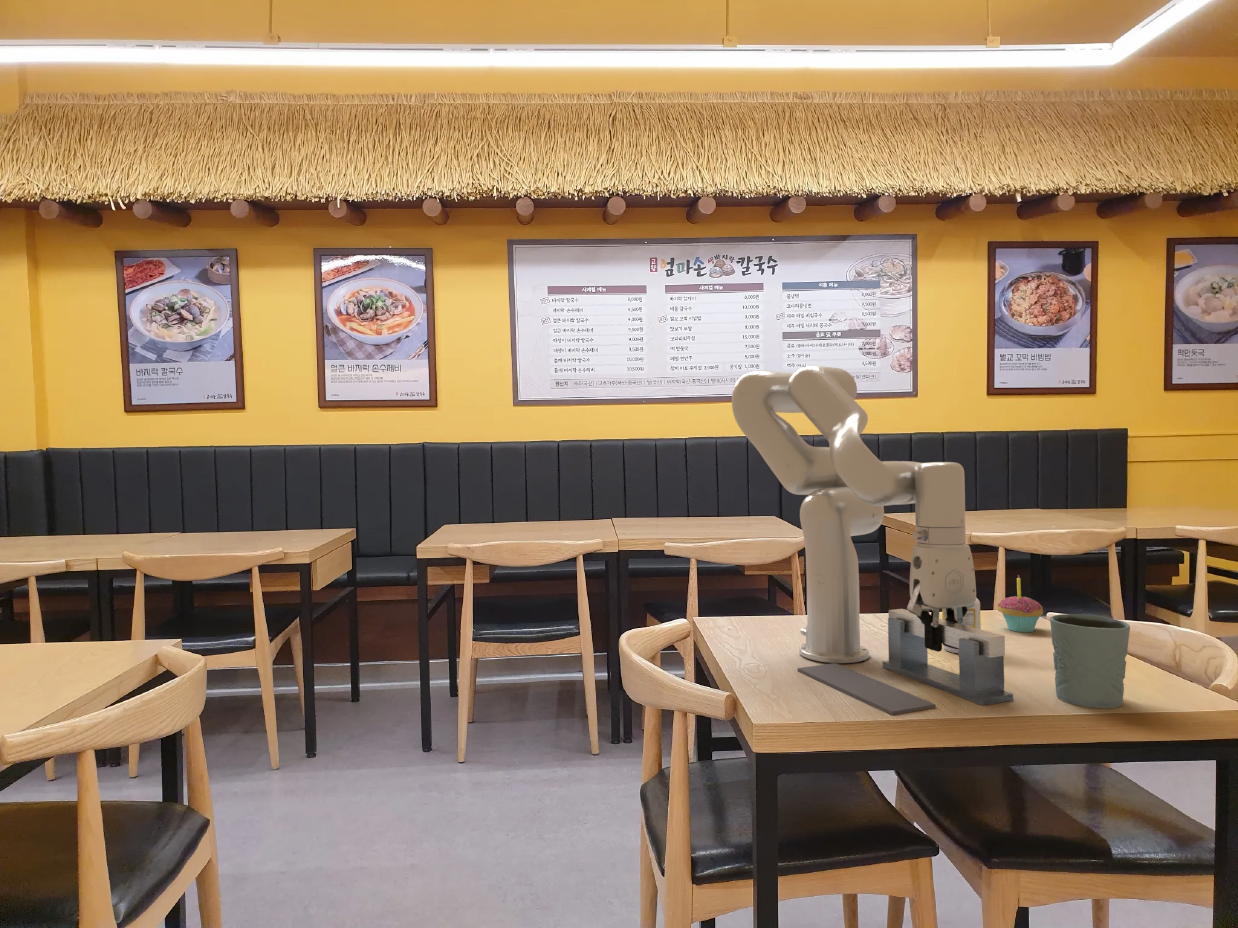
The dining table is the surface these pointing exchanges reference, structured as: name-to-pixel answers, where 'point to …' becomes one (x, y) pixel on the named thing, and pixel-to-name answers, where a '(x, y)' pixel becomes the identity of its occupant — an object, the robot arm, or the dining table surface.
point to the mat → (867, 689)
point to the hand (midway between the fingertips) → (942, 647)
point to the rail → (954, 633)
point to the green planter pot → (1089, 659)
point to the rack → (975, 677)
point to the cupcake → (1020, 611)
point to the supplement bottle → (968, 621)
